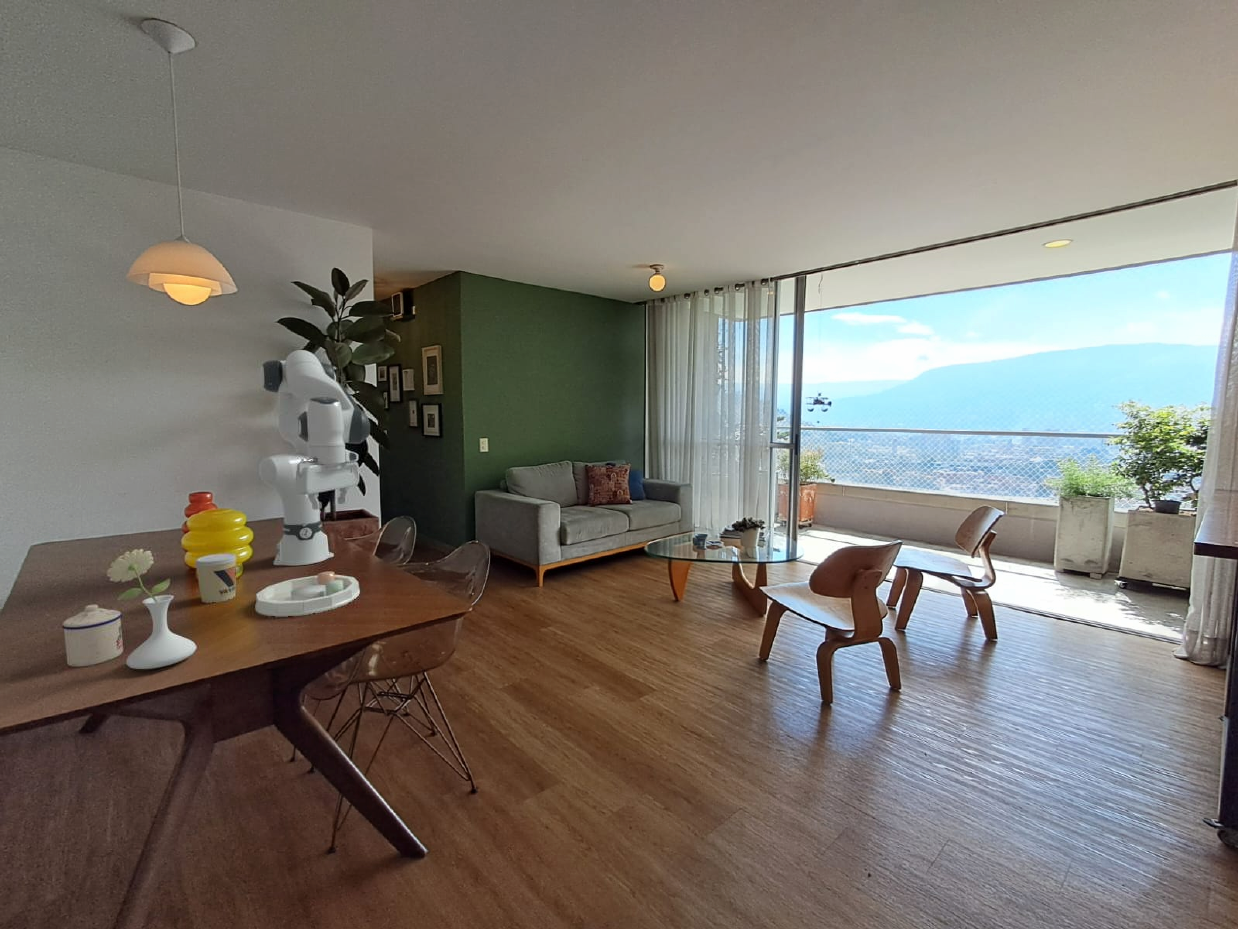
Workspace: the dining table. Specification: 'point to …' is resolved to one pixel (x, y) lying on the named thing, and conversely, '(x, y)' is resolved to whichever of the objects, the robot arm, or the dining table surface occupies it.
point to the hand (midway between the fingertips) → (330, 506)
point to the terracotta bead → (325, 577)
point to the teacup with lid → (93, 636)
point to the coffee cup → (217, 577)
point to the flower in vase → (162, 642)
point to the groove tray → (303, 607)
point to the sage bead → (333, 587)
